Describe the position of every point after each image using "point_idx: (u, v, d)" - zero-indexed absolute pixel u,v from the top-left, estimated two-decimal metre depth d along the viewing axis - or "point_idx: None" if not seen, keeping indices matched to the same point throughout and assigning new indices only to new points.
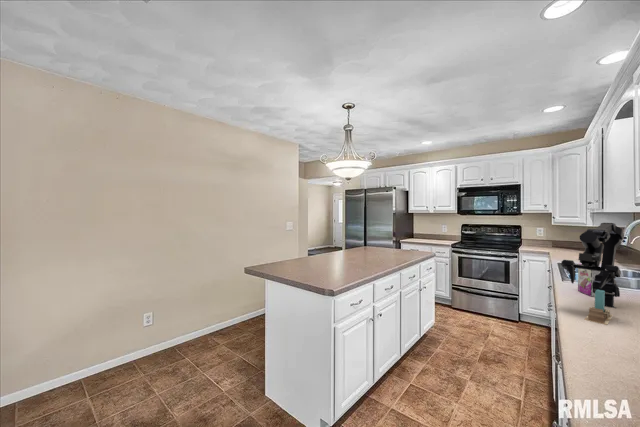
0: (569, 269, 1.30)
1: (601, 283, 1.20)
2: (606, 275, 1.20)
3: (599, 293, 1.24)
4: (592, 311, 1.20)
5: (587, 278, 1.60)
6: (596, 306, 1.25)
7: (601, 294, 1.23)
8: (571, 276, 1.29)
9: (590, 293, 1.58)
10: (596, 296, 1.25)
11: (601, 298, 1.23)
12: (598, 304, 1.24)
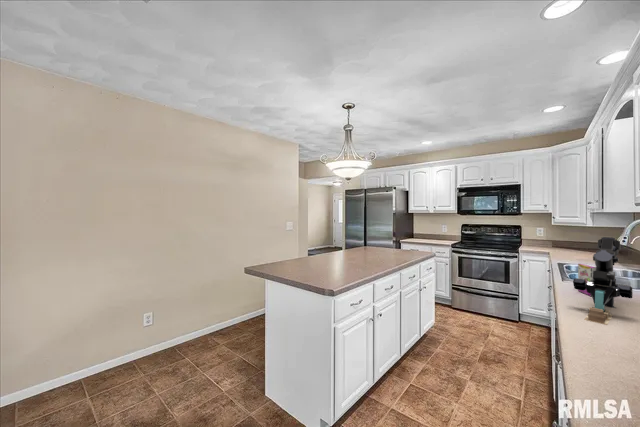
0: (591, 289, 1.29)
1: (605, 300, 1.24)
2: (609, 292, 1.24)
3: (599, 293, 1.24)
4: (592, 311, 1.20)
5: (587, 278, 1.60)
6: (596, 306, 1.25)
7: (601, 294, 1.23)
8: (593, 296, 1.27)
9: None
10: (596, 296, 1.25)
11: (601, 298, 1.23)
12: (598, 304, 1.24)
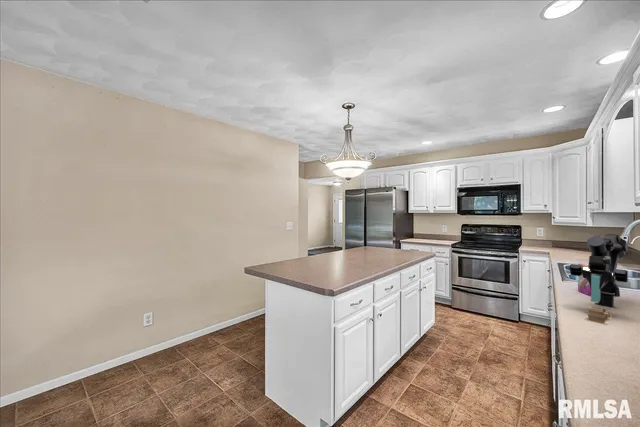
0: (587, 274, 1.30)
1: (601, 284, 1.25)
2: (605, 277, 1.25)
3: (595, 277, 1.25)
4: (592, 311, 1.20)
5: None
6: (592, 290, 1.26)
7: (597, 278, 1.25)
8: (589, 280, 1.28)
9: (590, 293, 1.58)
10: (592, 281, 1.26)
11: (597, 282, 1.25)
12: (594, 288, 1.25)
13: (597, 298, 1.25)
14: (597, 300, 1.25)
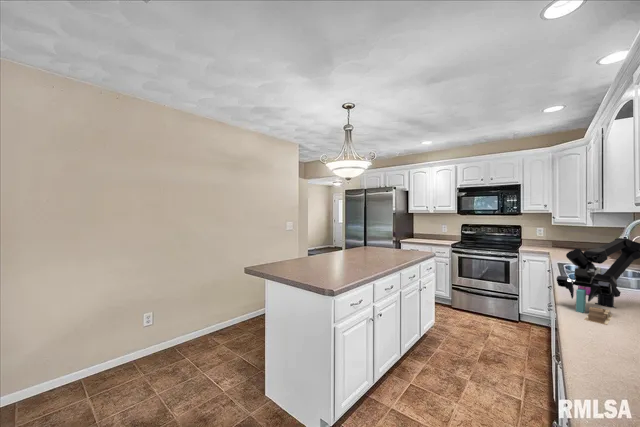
0: (569, 285, 1.36)
1: (589, 297, 1.29)
2: (594, 289, 1.29)
3: (580, 292, 1.30)
4: (592, 311, 1.20)
5: None
6: (577, 304, 1.31)
7: (582, 293, 1.30)
8: (571, 291, 1.34)
9: None
10: (577, 294, 1.31)
11: (582, 296, 1.30)
12: (579, 302, 1.30)
13: (581, 311, 1.30)
14: None
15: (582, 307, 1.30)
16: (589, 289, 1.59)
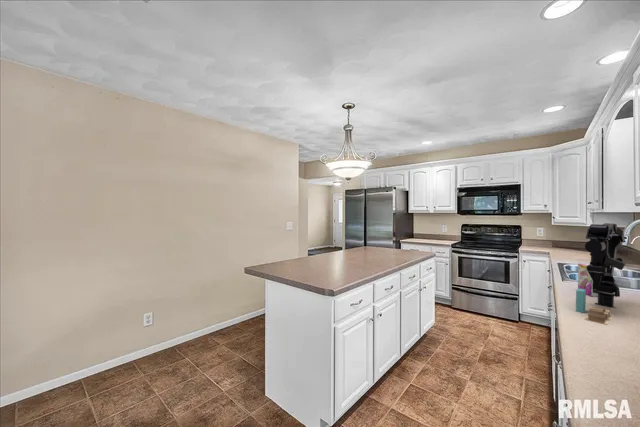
0: (602, 275, 1.28)
1: (602, 279, 1.36)
2: (605, 272, 1.36)
3: (580, 292, 1.30)
4: (592, 311, 1.20)
5: (587, 278, 1.60)
6: (577, 304, 1.31)
7: (582, 292, 1.30)
8: (600, 281, 1.29)
9: (590, 293, 1.58)
10: (577, 294, 1.31)
11: (582, 296, 1.30)
12: (579, 302, 1.30)
13: (581, 311, 1.30)
14: None
15: (582, 307, 1.30)
16: (589, 289, 1.59)
